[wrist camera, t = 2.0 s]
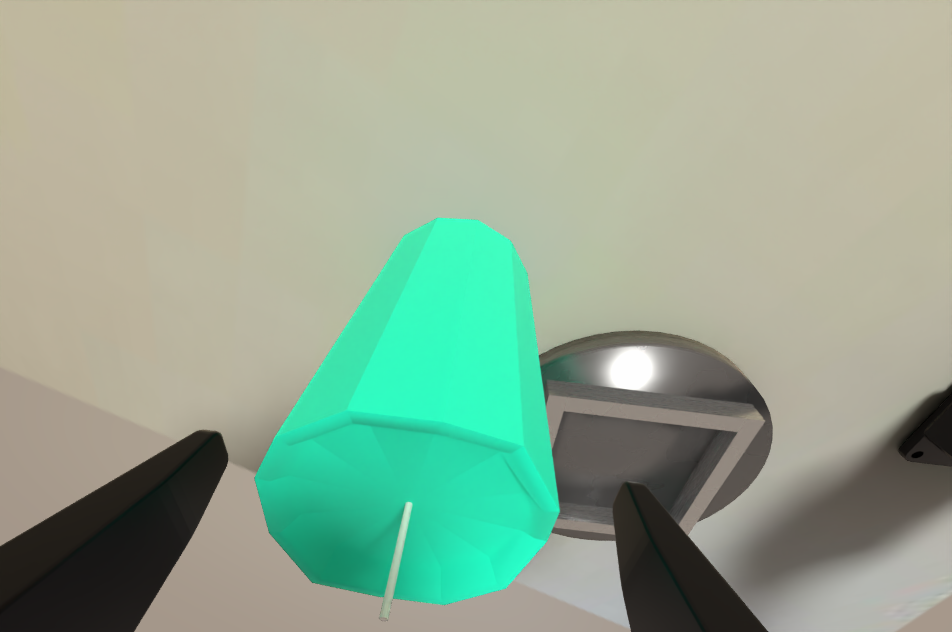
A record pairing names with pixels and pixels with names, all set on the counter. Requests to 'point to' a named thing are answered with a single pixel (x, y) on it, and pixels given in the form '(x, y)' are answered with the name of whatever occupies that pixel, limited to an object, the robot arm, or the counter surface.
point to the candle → (422, 431)
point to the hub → (649, 427)
